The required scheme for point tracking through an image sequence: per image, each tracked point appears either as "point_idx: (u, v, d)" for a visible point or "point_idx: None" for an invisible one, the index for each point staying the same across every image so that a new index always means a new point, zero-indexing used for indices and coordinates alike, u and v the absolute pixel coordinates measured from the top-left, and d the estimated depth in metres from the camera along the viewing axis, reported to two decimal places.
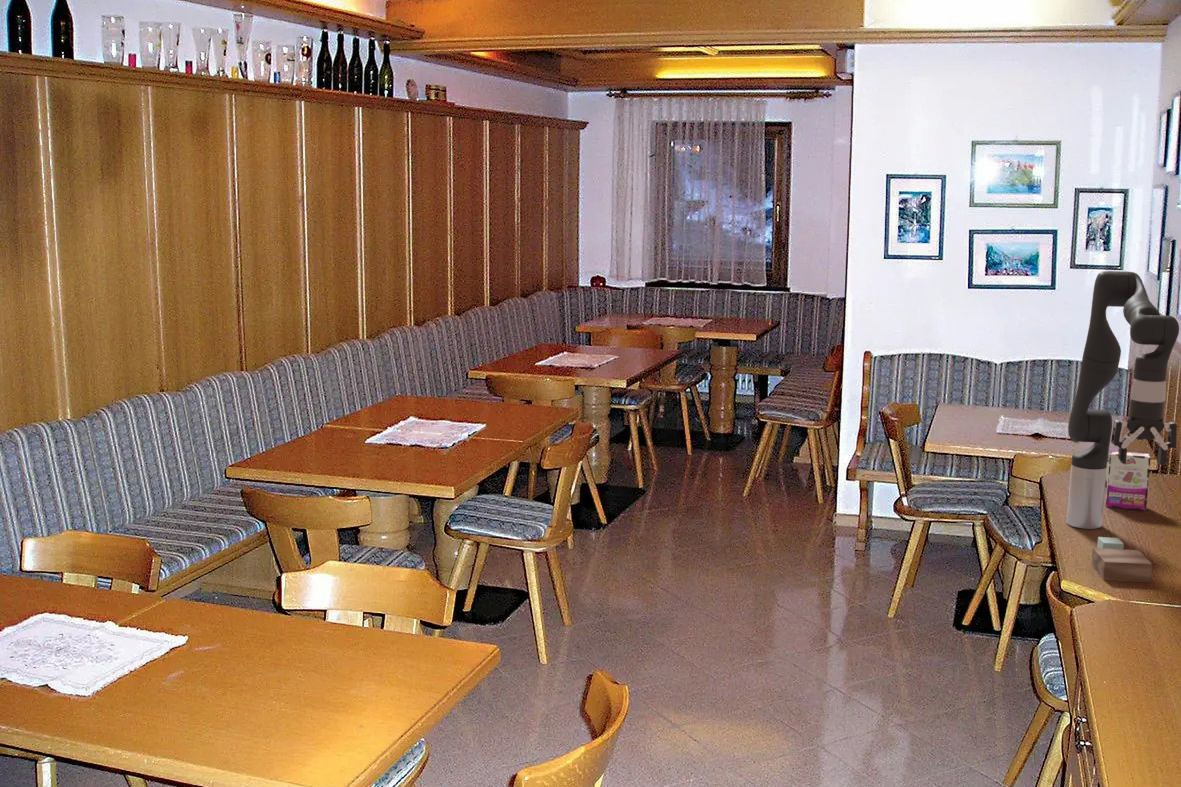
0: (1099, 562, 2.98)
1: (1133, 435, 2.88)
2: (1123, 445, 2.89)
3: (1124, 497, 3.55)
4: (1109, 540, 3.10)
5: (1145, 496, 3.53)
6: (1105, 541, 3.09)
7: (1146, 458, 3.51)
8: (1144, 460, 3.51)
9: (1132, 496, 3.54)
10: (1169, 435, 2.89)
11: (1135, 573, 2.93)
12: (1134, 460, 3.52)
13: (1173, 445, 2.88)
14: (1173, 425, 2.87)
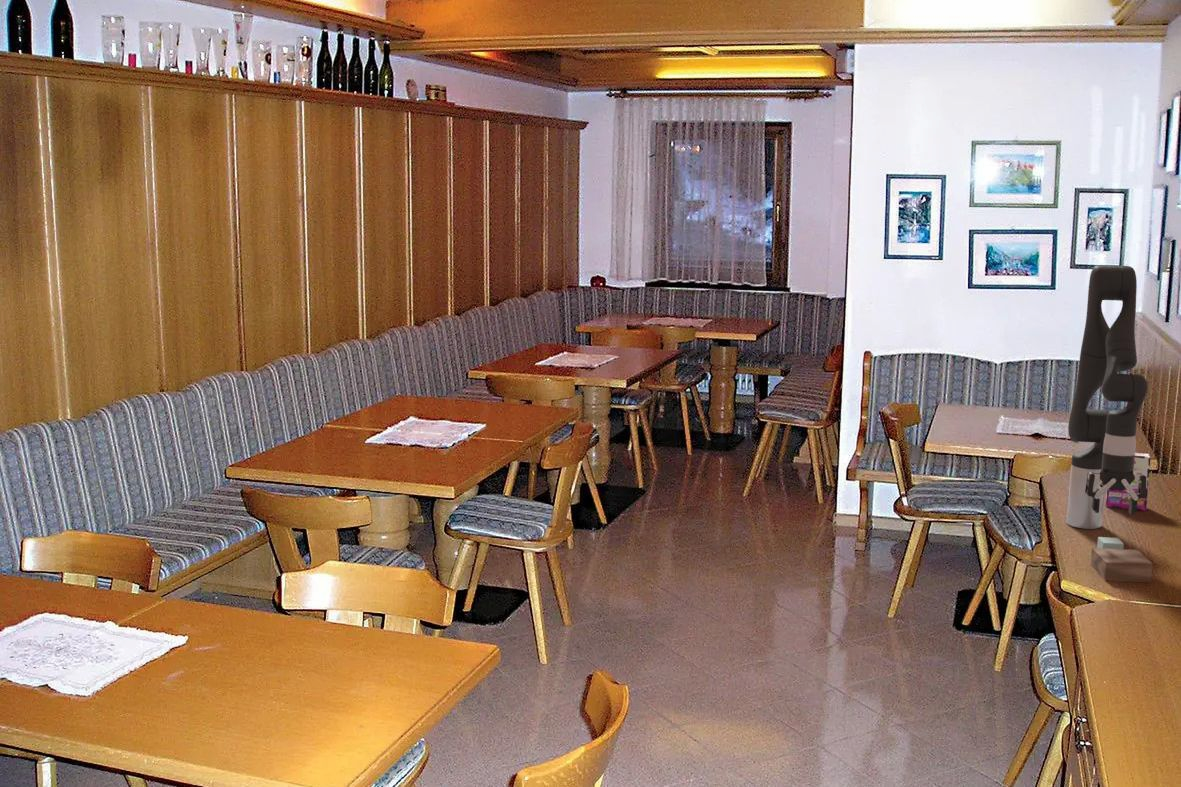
0: (1100, 562, 2.98)
1: (1105, 486, 3.06)
2: (1096, 495, 3.07)
3: (1124, 497, 3.55)
4: (1109, 540, 3.10)
5: None
6: (1105, 541, 3.09)
7: (1146, 458, 3.51)
8: (1144, 460, 3.51)
9: None
10: (1139, 486, 3.06)
11: (1135, 573, 2.93)
12: (1134, 460, 3.52)
13: (1143, 496, 3.05)
14: (1143, 477, 3.04)
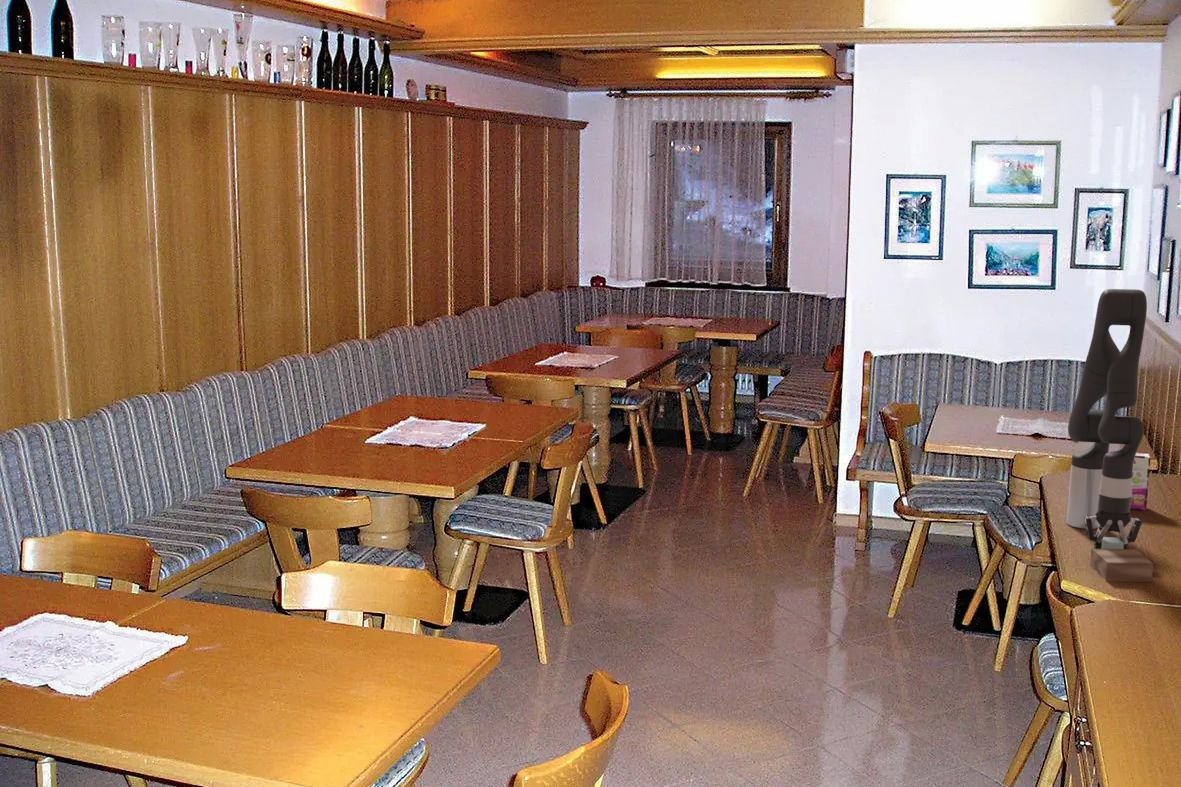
0: (1100, 562, 2.98)
1: (1104, 529, 3.08)
2: (1098, 540, 3.09)
3: None
4: (1110, 540, 3.10)
5: (1145, 496, 3.53)
6: (1105, 541, 3.09)
7: (1146, 458, 3.51)
8: (1144, 460, 3.51)
9: (1132, 496, 3.54)
10: (1132, 530, 3.09)
11: (1136, 573, 2.93)
12: (1134, 460, 3.52)
13: (1133, 540, 3.08)
14: (1138, 522, 3.07)
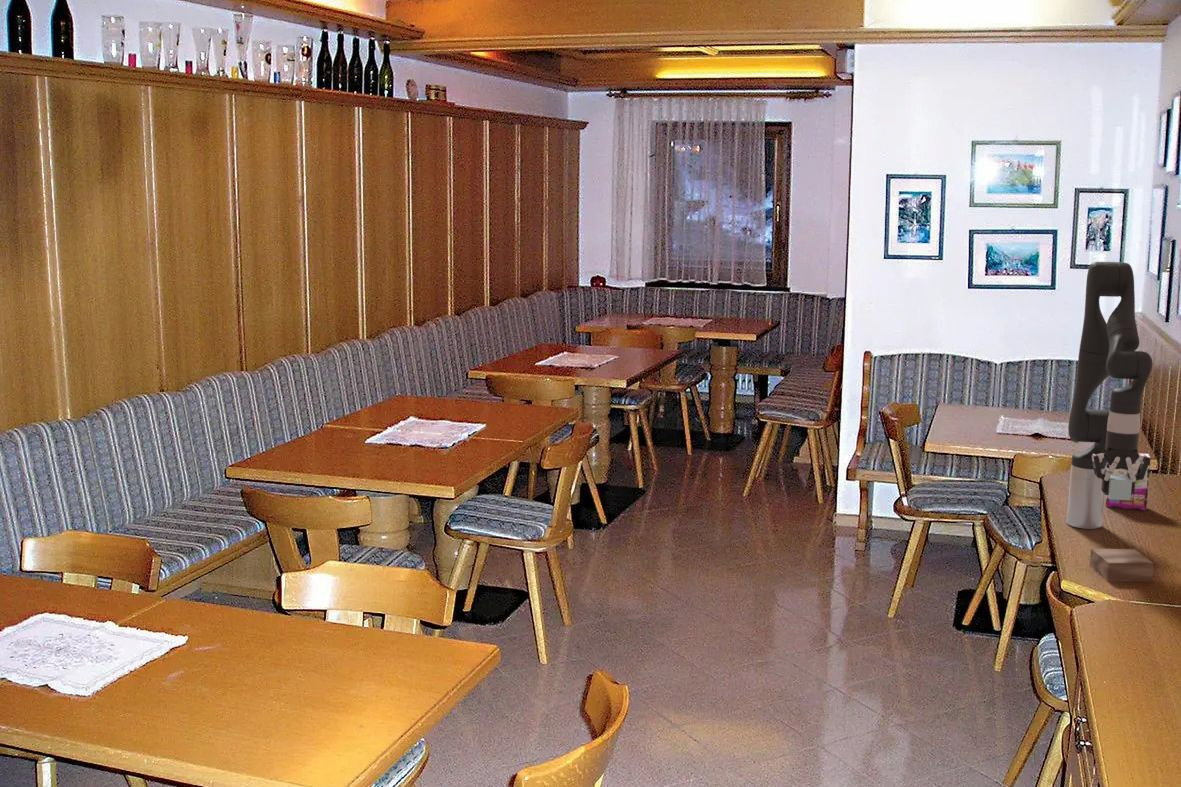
0: (1101, 562, 2.97)
1: (1112, 466, 3.03)
2: (1106, 477, 3.04)
3: None
4: (1117, 478, 3.04)
5: (1145, 496, 3.53)
6: (1113, 479, 3.04)
7: None
8: None
9: (1132, 496, 3.54)
10: (1140, 467, 3.03)
11: (1137, 573, 2.93)
12: None
13: (1141, 477, 3.02)
14: (1147, 459, 3.01)
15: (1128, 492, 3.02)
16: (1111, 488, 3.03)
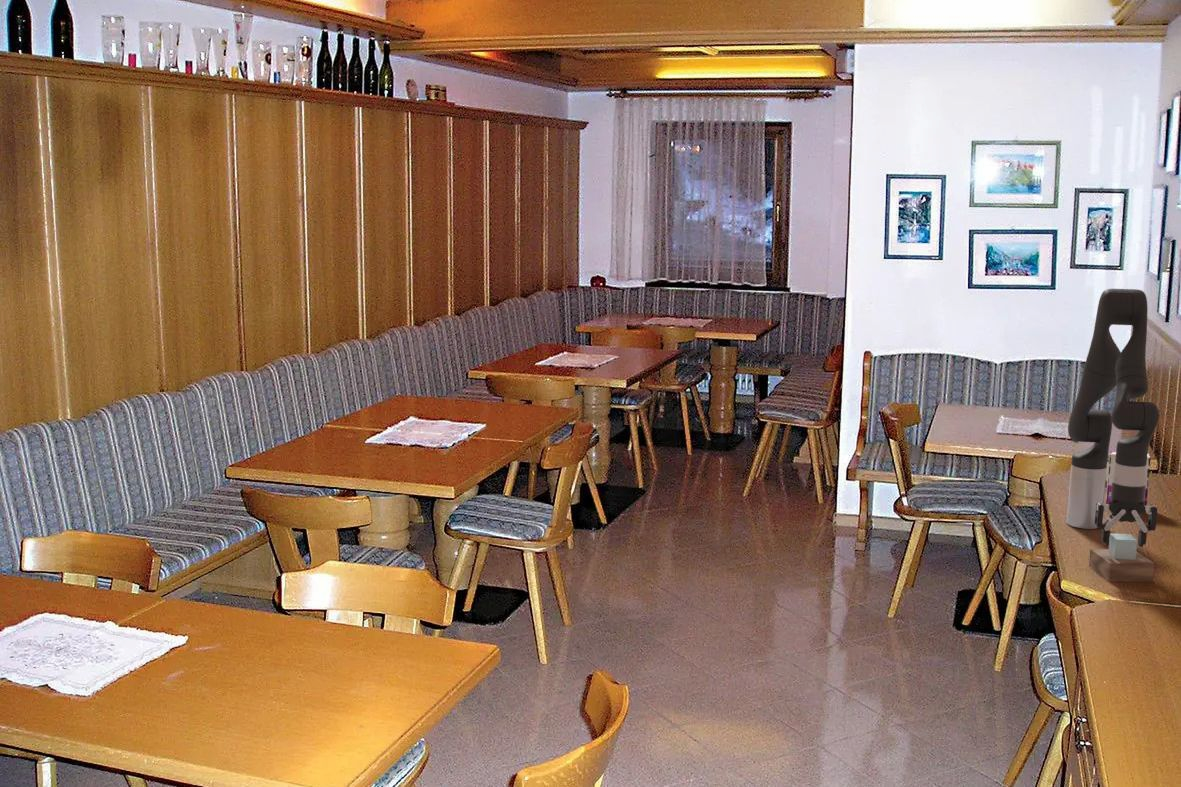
0: (1102, 563, 2.97)
1: (1115, 518, 2.95)
2: (1106, 527, 2.96)
3: None
4: (1122, 537, 2.97)
5: (1145, 496, 3.53)
6: (1118, 537, 2.96)
7: None
8: None
9: None
10: (1149, 518, 2.96)
11: (1138, 573, 2.94)
12: None
13: (1153, 528, 2.95)
14: (1154, 508, 2.94)
15: (1133, 552, 2.95)
16: (1116, 547, 2.96)
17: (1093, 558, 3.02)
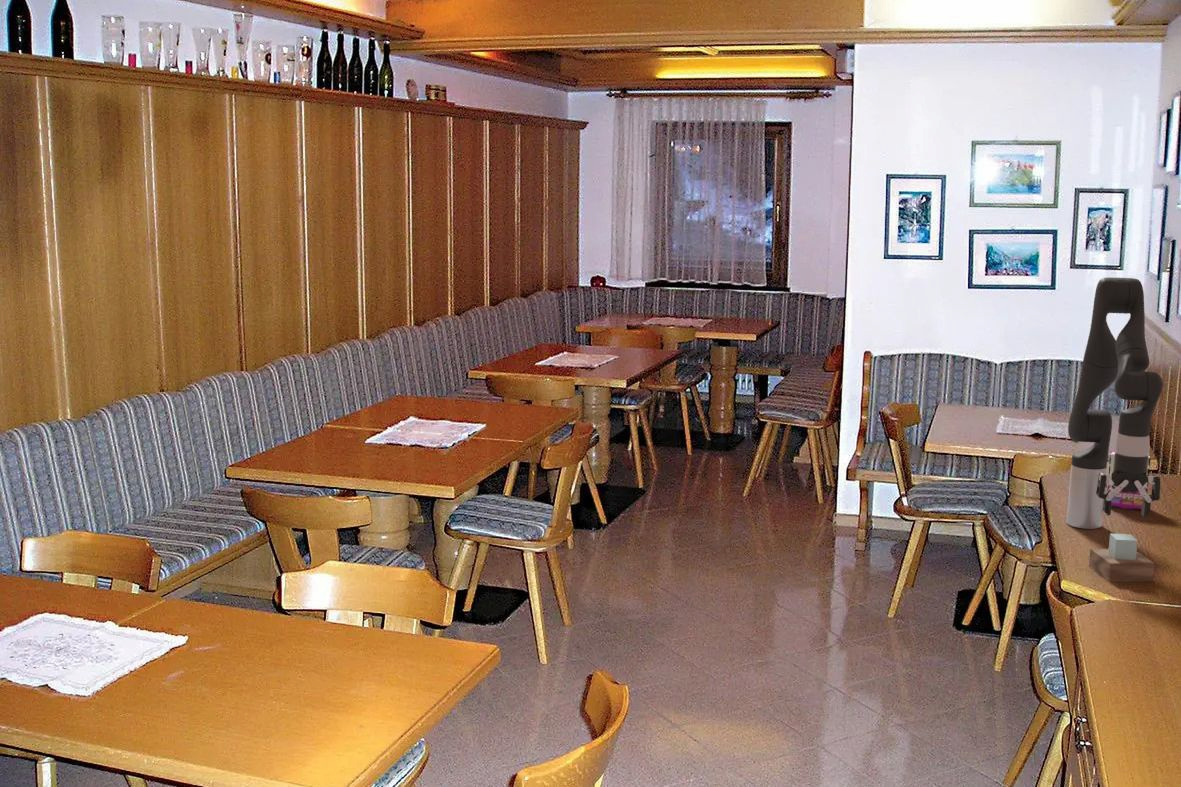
0: (1102, 563, 2.97)
1: (1117, 488, 2.94)
2: (1108, 497, 2.95)
3: (1124, 497, 3.55)
4: (1122, 537, 2.97)
5: None
6: (1118, 538, 2.96)
7: None
8: None
9: (1132, 496, 3.54)
10: (1153, 488, 2.94)
11: (1138, 573, 2.94)
12: None
13: (1157, 498, 2.93)
14: (1157, 478, 2.92)
15: (1133, 552, 2.95)
16: (1116, 548, 2.95)
17: (1093, 558, 3.02)
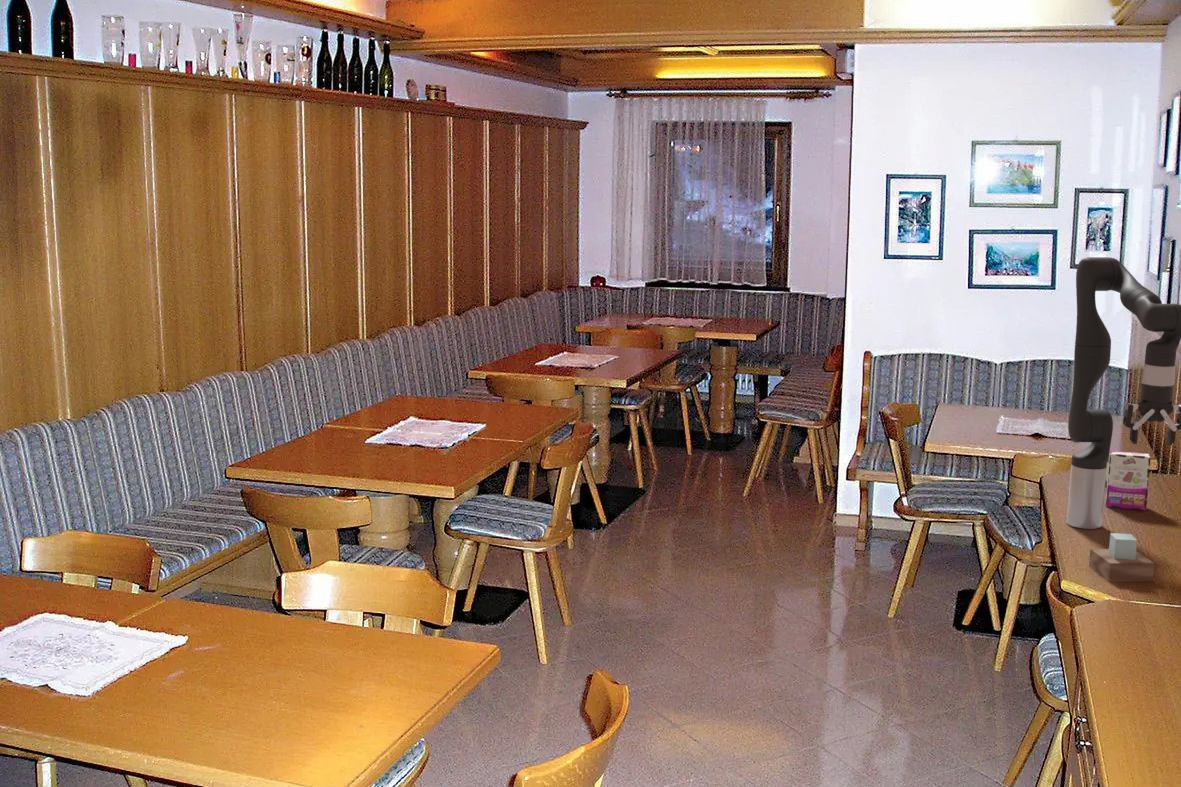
0: (1102, 563, 2.97)
1: (1144, 417, 3.05)
2: (1134, 426, 3.06)
3: (1124, 497, 3.55)
4: (1122, 537, 2.97)
5: (1145, 496, 3.53)
6: (1118, 537, 2.97)
7: (1146, 458, 3.51)
8: (1144, 460, 3.51)
9: (1132, 496, 3.54)
10: (1178, 417, 3.06)
11: (1138, 573, 2.94)
12: (1134, 460, 3.52)
13: None
14: None
15: (1132, 551, 2.95)
16: (1115, 547, 2.96)
17: (1093, 558, 3.02)
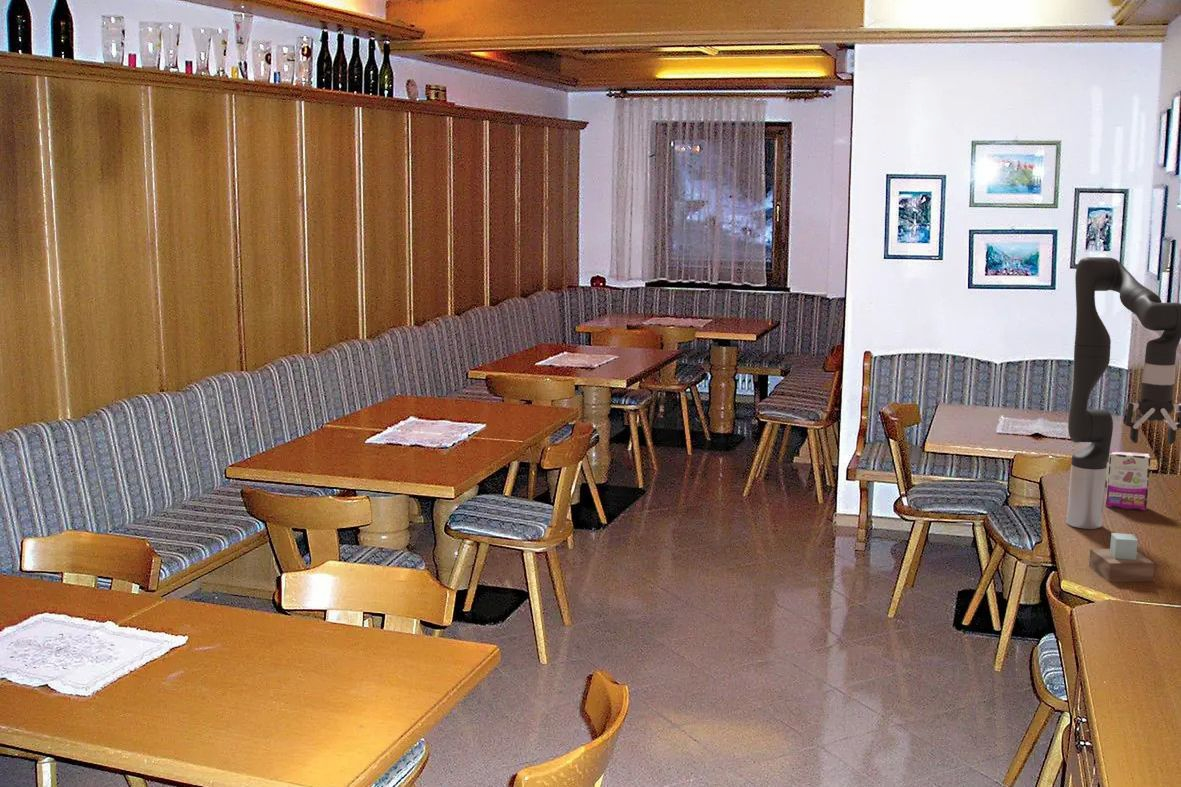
0: (1102, 563, 2.97)
1: (1144, 416, 3.05)
2: (1135, 425, 3.06)
3: (1124, 497, 3.55)
4: (1123, 537, 2.97)
5: (1145, 496, 3.53)
6: (1118, 537, 2.97)
7: (1146, 458, 3.51)
8: (1144, 460, 3.51)
9: (1132, 496, 3.54)
10: (1178, 416, 3.06)
11: (1138, 573, 2.94)
12: (1134, 460, 3.52)
13: None
14: None
15: (1133, 551, 2.95)
16: (1116, 547, 2.96)
17: (1093, 558, 3.02)
